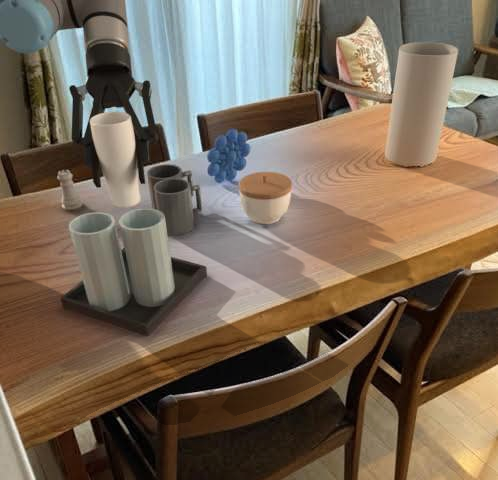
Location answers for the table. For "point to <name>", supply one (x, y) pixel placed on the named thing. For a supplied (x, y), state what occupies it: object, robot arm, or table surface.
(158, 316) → the tray
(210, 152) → the grapes
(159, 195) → the grey mug near
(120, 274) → the tumbler
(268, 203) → the trinket box
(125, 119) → the drinking glass
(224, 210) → the table surface
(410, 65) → the cylinder vase
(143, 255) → the tumbler
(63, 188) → the rook chess piece
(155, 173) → the grey mug far
